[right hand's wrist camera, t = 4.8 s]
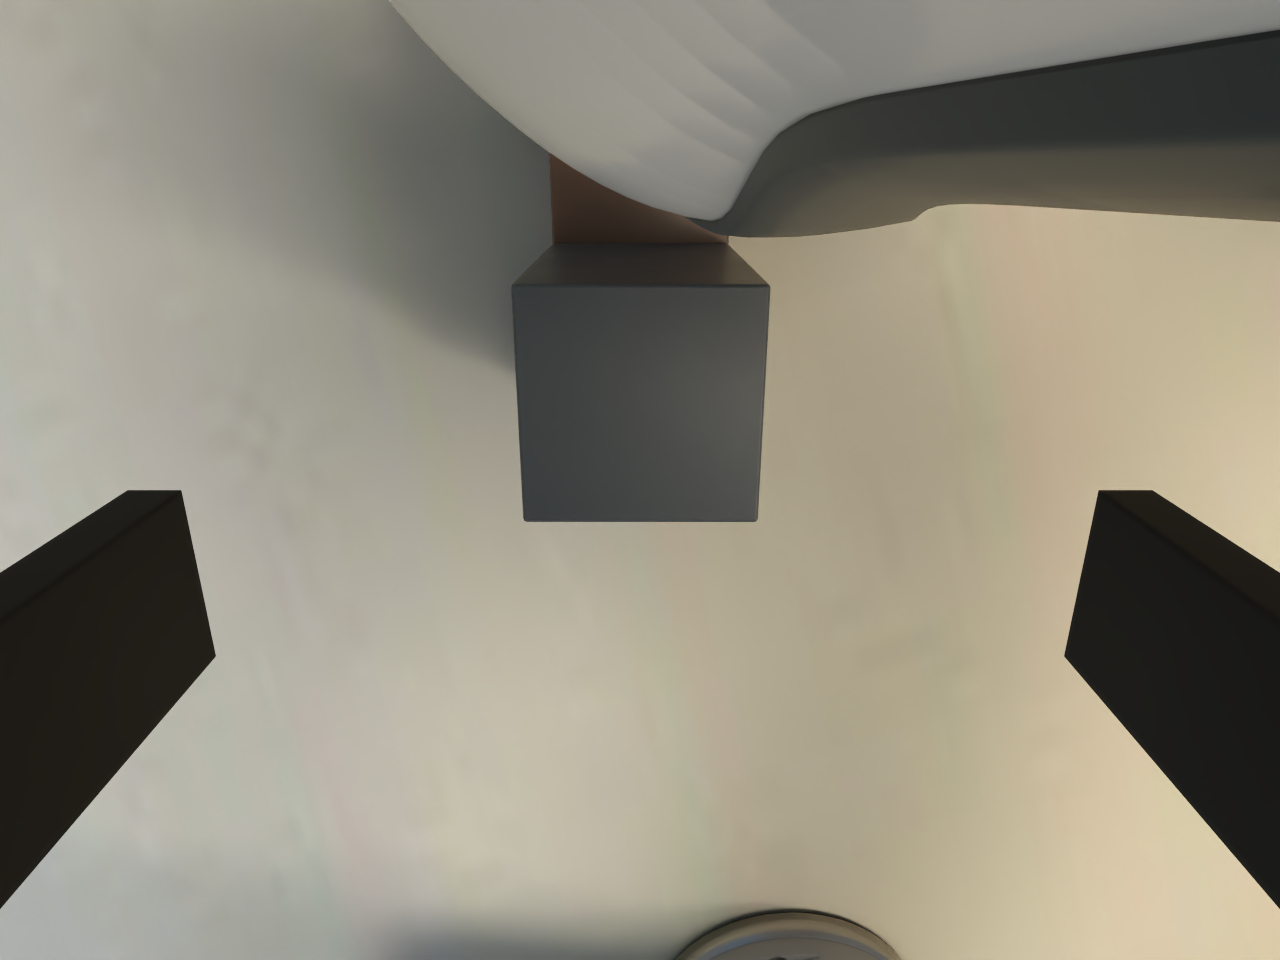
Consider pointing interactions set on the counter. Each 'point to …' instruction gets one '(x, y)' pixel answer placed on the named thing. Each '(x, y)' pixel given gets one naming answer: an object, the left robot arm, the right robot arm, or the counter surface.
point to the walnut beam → (612, 214)
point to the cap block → (640, 383)
